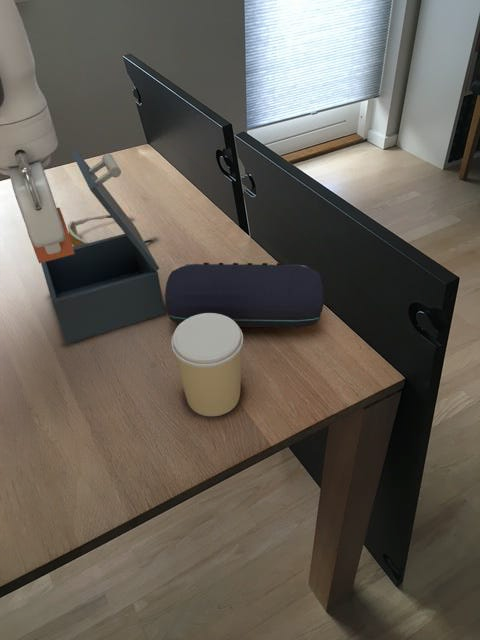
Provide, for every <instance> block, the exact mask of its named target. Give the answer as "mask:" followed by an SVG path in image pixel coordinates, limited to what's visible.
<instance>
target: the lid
mask: <svg viewBox="0 0 480 640" xmlns="http://www.w3.org/2000/svg"><path fill="white" fill-rule="evenodd" d="M70 152H71V154H72V156H73V159H74V160H75V163H76V164H77V166H78V168H79V170H80V172H81V174H82V176H83V178H84V181H85V182H86V184H87V186H88V189H89V191H90V192H91V193H92V195H94V197H95V198H96V199H97V201H98V202H99V203H100V204H101V206H102V207H103V208H104V209H105V211H106V212H107V213H108V215H111V217H112V218H111V219H113V220H114V222H115V223H116V224H117V226H118V227H119V228H120V229H121V231H122V232H123V234H126V235H127V237H128V238H129V239H130V240H131V242H132V243H133V244H134V245H135V247H136V248H137V249H138V250H139V252H140V253H141V254H142V255H143V257H144V258H145V259H146V260H147V262H148V263H149V264H150V265H151V267H152V268H153V269H154V270H155V271H157V272H158V270H160V267H159V265H158V263H157V261H156V259H155V258H154V256H153V254H152V252H151V251H150V249H149V247H148V246H147V243H145V242H144V239H143V237H142V235H141V234H140V232H139V230H138V228H137V226H136V225H135V224H134V223H133V222H132V220H130V219H131V218H130V217H129V216H128V215H127V214H126V212H125V211H124V210H123V208H122V207H121V205H119V203H118V202H117V201H116V200H115V198H114V197H113V195H112V194H111V192H109V190H108V188H106V186H105V185H104V184H105V182H107V181H108V180H110V179H111V178H119V177H120V176H121V175H122V169H121V168H120V166H119V165H118V163H117V162H116V159H115V158H114V157H113V155H112V154H110V153H105V154H103V156H102V157H101V161H99V162H98V163H96V164H95V165H93V166H92V167H90V166H89V164H88V163H87V161H86V160H85V159H84V158H83V156H82V155H81V153H79V151H78V150H77V149H76V148H74V149H72V150H71V151H70ZM103 168H106V171H107V172H105V173H104V174H102V175H101V176H99V177H98V176H97V175H96V174H95V173H97V172H98V171H100V170H101V169H103ZM129 218H130V219H129Z"/></svg>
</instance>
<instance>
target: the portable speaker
mask: <svg viewBox="0 0 480 640" xmlns="http://www.w3.org/2000/svg"><path fill="white" fill-rule="evenodd" d="M164 292H165V293H164V302H165V308H166V312H167V314H168V318H169V320H171V322H174V323H176V324H178V325H180V324H181V323H182V322H183V321H184V320H186V319H188V318H190V317H192V316H195V315H198V314H203V313H216V314H221V315H224V316H227V317H229V318H231V319H232V320H233V321H234V322H235V323H236V324H237V325H238V326H239V328H240V327H242V328H244V327H245V328H304V327H310V326H313V325H316V324H318V323H319V321H320V318H321V316H322V312H323V309H324V305H325V287H324V286H323V282H322V278H321V275H320V273H319V272H318V271H317V270H315V269H313V268H312V267H309V266H306V265H304V264H283V263H282V262H277V263H276V264H268V262H263V263H261V264H254V263H253V262H247V264H241V263H240V264H239V262H233V263H232V264H230V263H228V264H227V263H224V262H218V264H217V263H209V262H203V263H189V264H188V263H187V264H184V265H183V266H179V268H178V267H177V268H175V269H174V270H172V271H171V272H170V273H169V275H168V278H167V281H166V283H165V291H164Z"/></svg>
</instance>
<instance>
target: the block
mask: <svg viewBox="0 0 480 640" xmlns="http://www.w3.org/2000/svg"><path fill="white" fill-rule="evenodd" d="M57 210H58V214H59V217H60V220H61V223H62V226H63V229H64V232H65V240H64V241H62V242H60V243H59V244H60V247H61V251H60V252H58V253H54V254H51V255H50V254H47V253H46V250H45V247H40V248H37V247H35V246H34V245H33V243H32V241H31V239H30V236H29V233H28V230H27V229H26V231H27V234H28V237H29V240H30V242H31V245H32V248H33V251H34V253H35V255H36V259H37V261H38V263H39V264H41V263H43V262H47V261H50V260H54V259H58V258H61V257H65V256H69V255H72V254H75V253H74V249H73V246H72V243H71V240H70V237H69V233H68V226H67V225H66V221H65V219H64V215H63V213H62V211H61V208H60V207H57Z"/></svg>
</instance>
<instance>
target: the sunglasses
mask: <svg viewBox="0 0 480 640" xmlns="http://www.w3.org/2000/svg"><path fill="white" fill-rule="evenodd" d="M128 218H129V219H130V220H131V218H130V217H128ZM105 219H113V218H112V217H111V215H110V214H103V215H97V216H96V215H95V216H92V217H90V216H89V217H86V218H81V219H76V220H71V221H69V222H68V224H67V230H68V234H69V237H70V240H71V243H72V246H73V247H76V246H79V245H83V244H87V243H89V241H87V240H84V239H82V238H81V237H80V235H79V233H78V230H77V227H78V226H79V225H84V224H85V223H87V222H89V221H94V220H95V221H96V220H105ZM131 221H132V220H131ZM143 241H144V242H145V244H148V243H151V242H153V241H154V238H153V237H152V238H147V239H143Z"/></svg>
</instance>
